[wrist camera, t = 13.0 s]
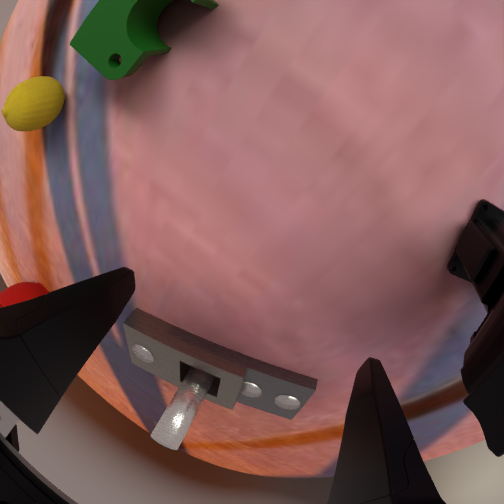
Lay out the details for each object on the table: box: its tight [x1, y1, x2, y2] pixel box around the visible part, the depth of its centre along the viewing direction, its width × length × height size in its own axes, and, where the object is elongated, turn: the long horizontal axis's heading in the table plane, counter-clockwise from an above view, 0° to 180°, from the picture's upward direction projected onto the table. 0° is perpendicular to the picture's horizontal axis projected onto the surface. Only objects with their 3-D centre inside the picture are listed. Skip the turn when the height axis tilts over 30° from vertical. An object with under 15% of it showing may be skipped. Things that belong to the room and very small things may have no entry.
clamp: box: [70, 0, 218, 80], centre depth 13 cm, size 12×6×9 cm, turn 123°
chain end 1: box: [123, 308, 248, 409], centre depth 33 cm, size 16×9×3 cm, turn 79°
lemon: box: [2, 76, 65, 131], centre depth 18 cm, size 6×6×8 cm
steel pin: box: [151, 366, 216, 450], centre depth 29 cm, size 3×3×12 cm
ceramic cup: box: [0, 282, 49, 308], centre depth 40 cm, size 13×17×10 cm
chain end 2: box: [168, 326, 318, 420], centre depth 33 cm, size 18×9×2 cm, turn 79°
